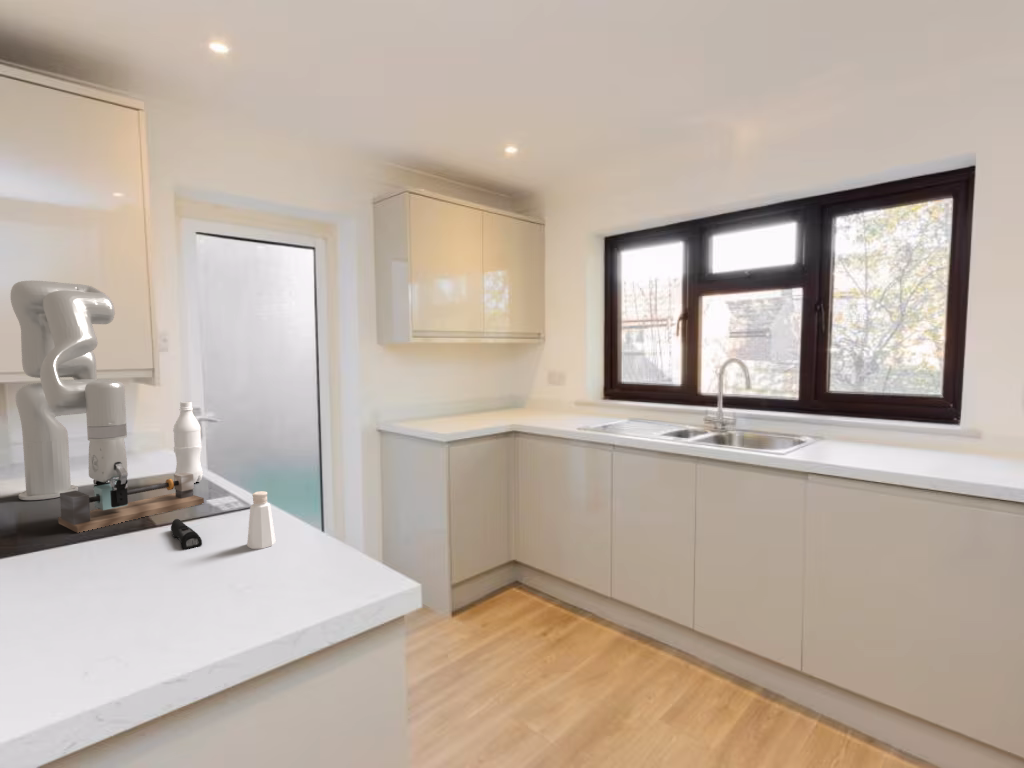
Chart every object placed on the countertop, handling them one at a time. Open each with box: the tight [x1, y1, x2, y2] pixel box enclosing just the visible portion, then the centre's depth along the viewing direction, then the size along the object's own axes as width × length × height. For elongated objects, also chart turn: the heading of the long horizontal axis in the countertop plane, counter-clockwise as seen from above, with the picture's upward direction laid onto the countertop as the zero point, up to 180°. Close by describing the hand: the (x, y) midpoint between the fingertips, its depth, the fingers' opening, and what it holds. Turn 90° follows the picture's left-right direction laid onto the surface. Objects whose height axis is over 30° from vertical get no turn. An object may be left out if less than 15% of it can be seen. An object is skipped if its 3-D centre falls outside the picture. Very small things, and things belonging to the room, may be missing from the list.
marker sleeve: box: [93, 482, 128, 510], centre depth 128 cm, size 5×5×5 cm
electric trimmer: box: [170, 518, 203, 551], centre depth 114 cm, size 4×16×3 cm, turn 42°
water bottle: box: [172, 401, 204, 484], centre depth 161 cm, size 7×7×25 cm
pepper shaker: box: [246, 490, 277, 550], centre depth 110 cm, size 5×5×11 cm
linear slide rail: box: [57, 472, 205, 534], centre depth 132 cm, size 27×12×8 cm, turn 146°
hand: (111, 502), depth 128 cm, fingers open, 9 cm apart
